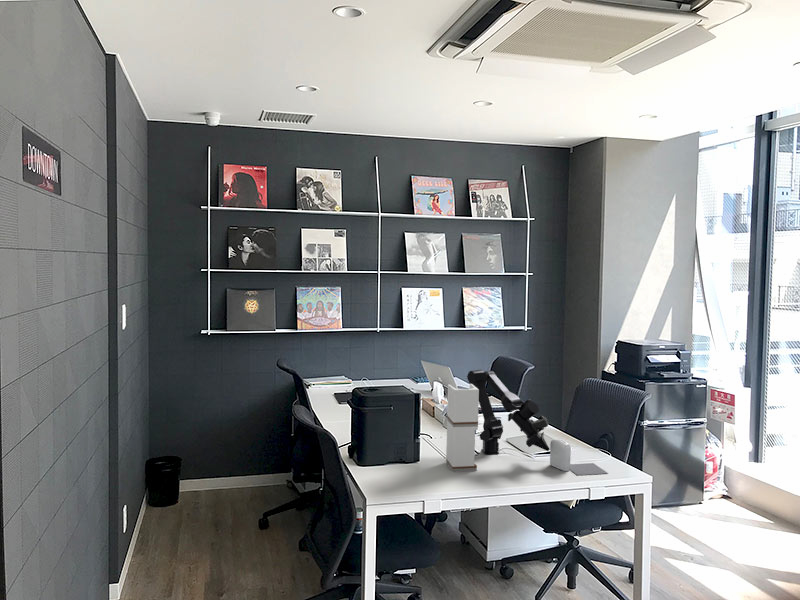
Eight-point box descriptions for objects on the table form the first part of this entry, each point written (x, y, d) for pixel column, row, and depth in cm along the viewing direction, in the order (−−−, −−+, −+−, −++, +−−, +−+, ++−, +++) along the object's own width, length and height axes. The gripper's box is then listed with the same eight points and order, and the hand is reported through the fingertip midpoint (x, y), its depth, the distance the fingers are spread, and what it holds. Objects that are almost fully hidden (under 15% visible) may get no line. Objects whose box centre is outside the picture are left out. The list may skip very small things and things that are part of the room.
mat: (577, 475, 282) (577, 474, 282) (563, 465, 295) (563, 464, 295) (607, 473, 285) (608, 473, 285) (593, 463, 297) (593, 463, 297)
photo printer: (548, 464, 295) (549, 437, 294) (556, 463, 297) (557, 436, 296) (563, 472, 286) (564, 443, 285) (571, 470, 288) (572, 442, 287)
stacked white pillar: (476, 470, 286) (478, 389, 283) (452, 471, 284) (454, 390, 281) (469, 461, 297) (471, 383, 294) (446, 462, 295) (447, 384, 292)
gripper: (534, 416, 284) (560, 444, 281) (540, 406, 301) (564, 433, 299) (515, 432, 287) (541, 461, 284) (521, 421, 305) (545, 448, 302)
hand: (548, 450), depth 292 cm, fingers closed
